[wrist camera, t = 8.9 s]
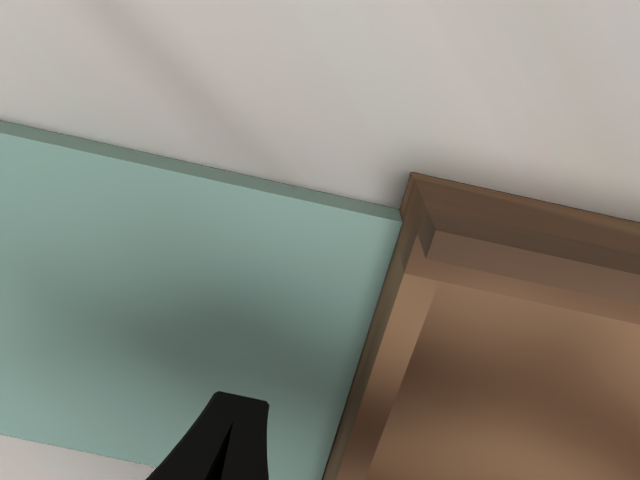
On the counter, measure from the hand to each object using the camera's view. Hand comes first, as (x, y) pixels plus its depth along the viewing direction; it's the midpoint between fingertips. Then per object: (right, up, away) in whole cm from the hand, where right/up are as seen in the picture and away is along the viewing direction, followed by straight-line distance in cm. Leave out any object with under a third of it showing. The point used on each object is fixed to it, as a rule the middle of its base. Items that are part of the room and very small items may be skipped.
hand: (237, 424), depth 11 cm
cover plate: (-5, +3, +3) cm, 6 cm away
